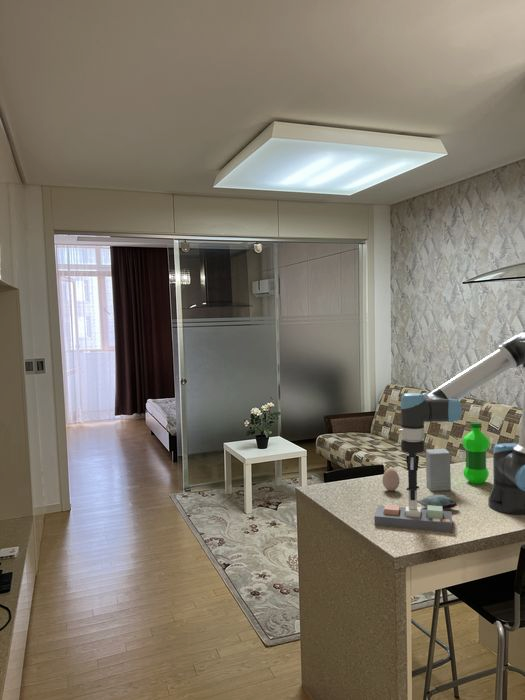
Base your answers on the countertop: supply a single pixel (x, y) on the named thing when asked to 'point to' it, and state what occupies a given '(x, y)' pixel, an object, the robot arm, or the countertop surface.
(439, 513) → the sage key
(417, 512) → the cream key
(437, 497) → the packaged food
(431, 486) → the skincare box
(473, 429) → the plastic bottle
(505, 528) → the countertop surface
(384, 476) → the egg
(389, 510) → the terracotta key
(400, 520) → the keypad board
